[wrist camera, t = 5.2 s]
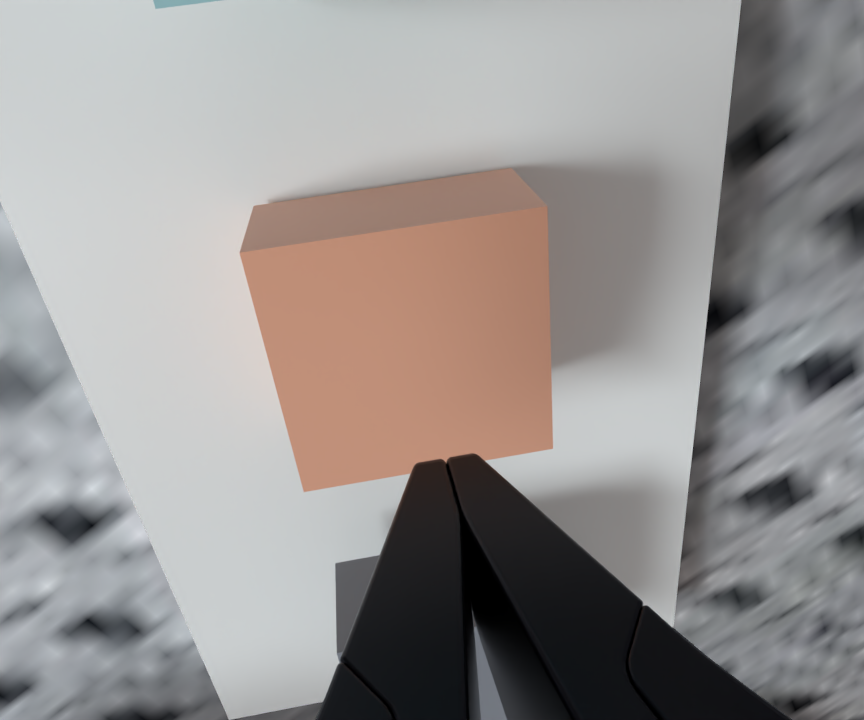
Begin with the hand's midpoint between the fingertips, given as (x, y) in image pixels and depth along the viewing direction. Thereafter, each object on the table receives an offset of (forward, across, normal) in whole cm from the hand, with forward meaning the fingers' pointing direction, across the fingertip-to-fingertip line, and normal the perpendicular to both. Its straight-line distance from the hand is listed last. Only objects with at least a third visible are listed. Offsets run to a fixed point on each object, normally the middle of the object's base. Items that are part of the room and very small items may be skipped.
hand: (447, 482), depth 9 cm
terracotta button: (+6, 0, 0) cm, 6 cm away
